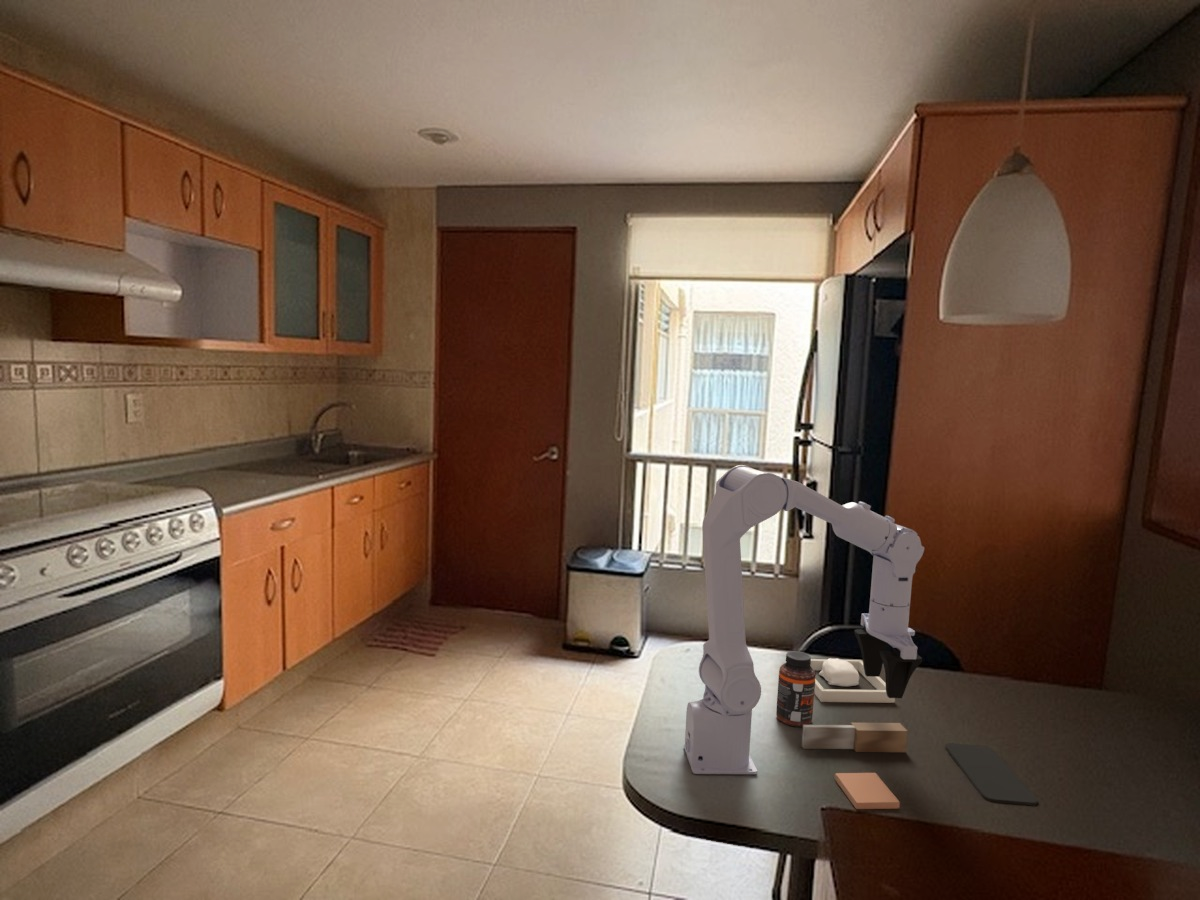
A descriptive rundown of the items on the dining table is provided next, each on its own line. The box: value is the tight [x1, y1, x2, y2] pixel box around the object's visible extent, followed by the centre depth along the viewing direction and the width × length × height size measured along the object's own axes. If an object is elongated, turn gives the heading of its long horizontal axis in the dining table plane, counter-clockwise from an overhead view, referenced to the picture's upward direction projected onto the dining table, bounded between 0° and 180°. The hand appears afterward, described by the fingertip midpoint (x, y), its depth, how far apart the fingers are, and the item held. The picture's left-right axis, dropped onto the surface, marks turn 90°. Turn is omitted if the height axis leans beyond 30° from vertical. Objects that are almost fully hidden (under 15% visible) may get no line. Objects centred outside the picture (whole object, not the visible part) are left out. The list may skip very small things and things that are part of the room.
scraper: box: [801, 722, 908, 753], centre depth 109 cm, size 16×2×4 cm, turn 93°
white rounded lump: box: [818, 657, 860, 688], centre depth 135 cm, size 8×7×4 cm
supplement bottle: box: [776, 650, 816, 728], centre depth 117 cm, size 6×6×11 cm
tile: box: [834, 772, 901, 810], centre depth 97 cm, size 6×1×7 cm
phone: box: [944, 742, 1038, 806], centre depth 103 cm, size 7×1×15 cm
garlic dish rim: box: [810, 658, 896, 704], centre depth 132 cm, size 14×15×2 cm
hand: (882, 686), depth 108 cm, fingers open, 7 cm apart
